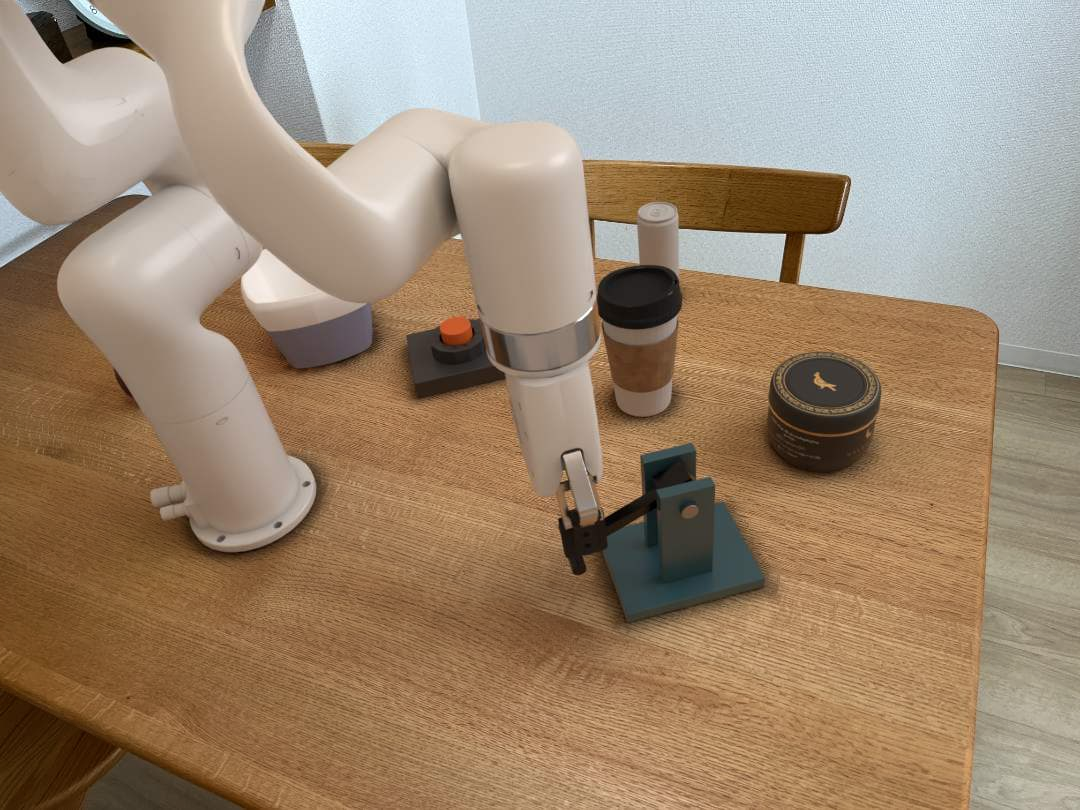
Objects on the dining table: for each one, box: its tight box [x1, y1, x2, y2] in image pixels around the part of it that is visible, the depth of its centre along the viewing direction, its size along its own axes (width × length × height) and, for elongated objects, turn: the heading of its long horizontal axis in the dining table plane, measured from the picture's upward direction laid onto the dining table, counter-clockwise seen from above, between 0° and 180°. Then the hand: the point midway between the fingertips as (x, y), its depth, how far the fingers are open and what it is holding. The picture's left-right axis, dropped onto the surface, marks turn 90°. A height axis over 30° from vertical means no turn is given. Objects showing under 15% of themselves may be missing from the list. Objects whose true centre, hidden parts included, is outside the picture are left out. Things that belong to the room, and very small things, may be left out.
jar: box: [766, 351, 882, 472], centre depth 77 cm, size 10×10×8 cm
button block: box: [406, 318, 506, 399], centre depth 95 cm, size 12×10×4 cm
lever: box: [557, 460, 697, 576], centre depth 65 cm, size 12×5×2 cm, turn 102°
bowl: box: [240, 248, 374, 369], centre depth 100 cm, size 15×15×11 cm
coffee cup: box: [596, 264, 683, 418], centre depth 83 cm, size 8×8×15 cm
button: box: [439, 316, 473, 346], centre depth 94 cm, size 4×4×2 cm
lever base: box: [601, 442, 766, 624], centre depth 67 cm, size 12×9×12 cm
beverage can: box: [636, 201, 680, 280], centre depth 98 cm, size 5×5×12 cm
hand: (570, 504), depth 63 cm, fingers open, 9 cm apart
